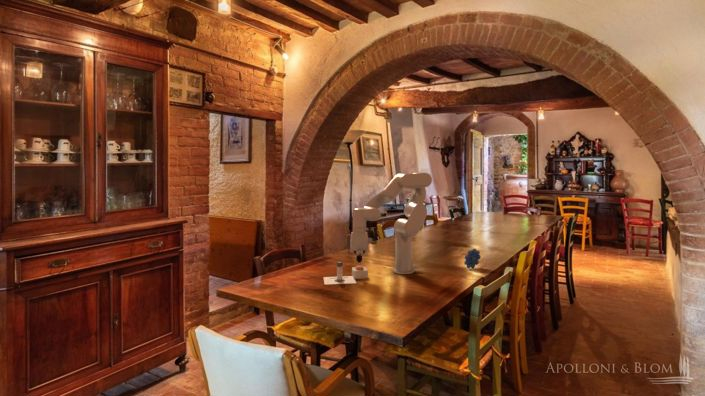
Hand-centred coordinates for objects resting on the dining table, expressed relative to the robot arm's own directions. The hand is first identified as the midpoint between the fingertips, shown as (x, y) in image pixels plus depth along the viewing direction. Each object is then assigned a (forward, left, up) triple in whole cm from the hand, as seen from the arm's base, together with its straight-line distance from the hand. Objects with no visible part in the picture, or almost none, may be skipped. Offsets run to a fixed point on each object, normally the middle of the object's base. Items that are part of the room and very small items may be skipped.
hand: (359, 262), depth 233 cm
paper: (+12, +6, -8) cm, 16 cm away
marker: (+12, +7, -8) cm, 16 cm away
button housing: (0, 0, -8) cm, 8 cm away
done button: (0, 0, -5) cm, 5 cm away
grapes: (-70, -10, -9) cm, 71 cm away
